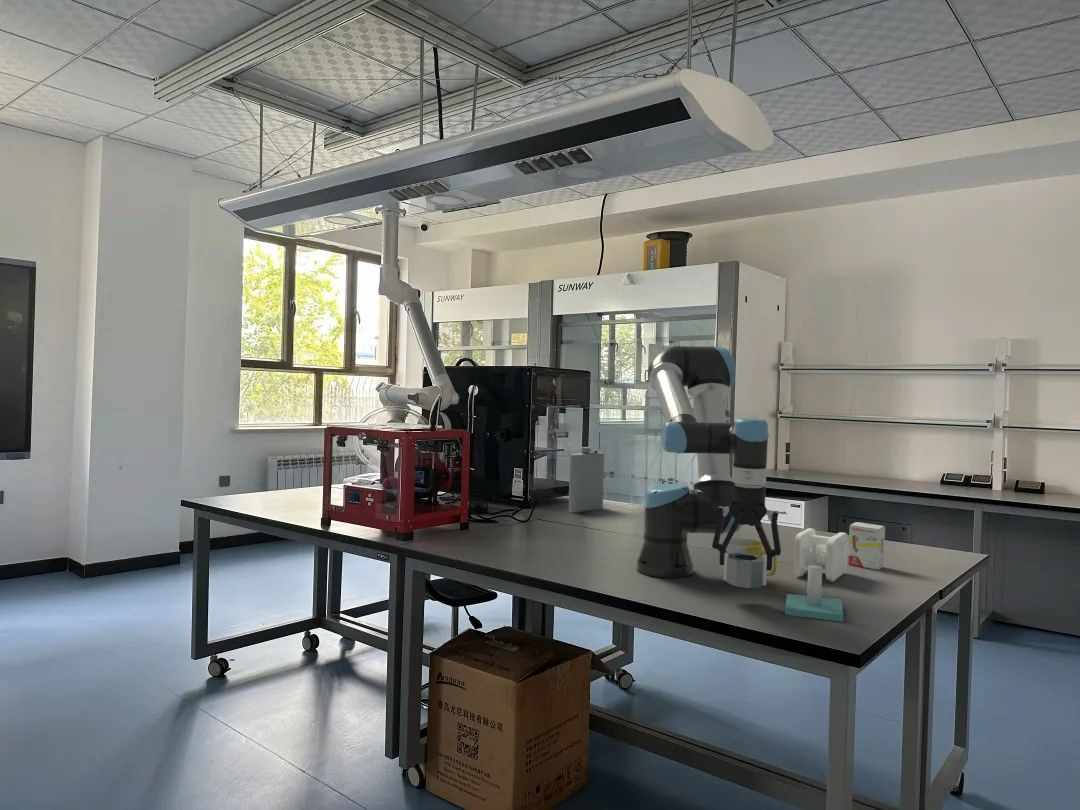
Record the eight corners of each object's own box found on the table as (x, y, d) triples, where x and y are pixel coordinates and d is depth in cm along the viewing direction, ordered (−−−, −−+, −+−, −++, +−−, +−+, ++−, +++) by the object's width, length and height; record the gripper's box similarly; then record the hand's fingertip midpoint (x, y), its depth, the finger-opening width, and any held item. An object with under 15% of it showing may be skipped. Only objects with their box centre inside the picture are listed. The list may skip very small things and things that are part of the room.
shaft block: (785, 614, 166) (786, 570, 165) (786, 600, 177) (788, 558, 176) (843, 621, 161) (844, 576, 161) (841, 606, 173) (842, 563, 172)
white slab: (596, 506, 302) (597, 445, 302) (604, 508, 299) (605, 446, 298) (565, 511, 291) (566, 447, 290) (573, 513, 287) (575, 448, 287)
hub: (725, 585, 171) (726, 559, 171) (729, 575, 179) (730, 551, 179) (761, 589, 169) (762, 563, 168) (763, 580, 176) (764, 555, 176)
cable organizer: (809, 567, 209) (810, 526, 209) (848, 573, 203) (850, 531, 203) (792, 578, 197) (794, 534, 197) (834, 585, 191) (835, 540, 191)
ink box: (847, 564, 213) (848, 523, 213) (852, 561, 217) (854, 521, 216) (878, 570, 207) (880, 528, 207) (884, 567, 211) (885, 525, 211)
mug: (714, 582, 191) (716, 542, 191) (728, 574, 200) (729, 535, 199) (768, 592, 183) (769, 549, 183) (779, 583, 192) (781, 542, 192)
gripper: (701, 483, 172) (697, 580, 174) (795, 491, 165) (791, 591, 167) (705, 479, 179) (702, 571, 181) (796, 486, 172) (792, 582, 174)
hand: (744, 581), depth 174 cm, fingers closed on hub, 8 cm apart
